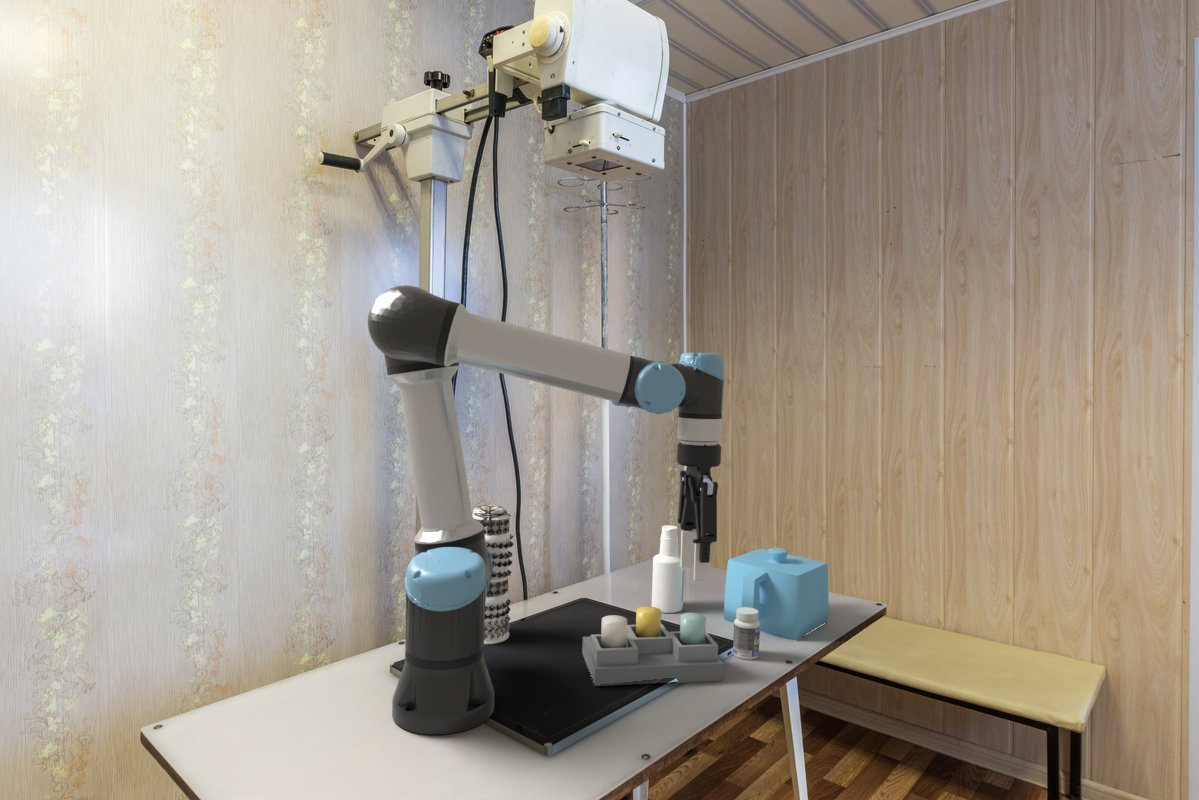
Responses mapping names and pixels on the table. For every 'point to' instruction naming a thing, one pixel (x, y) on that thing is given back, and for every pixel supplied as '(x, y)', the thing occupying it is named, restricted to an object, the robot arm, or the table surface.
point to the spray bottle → (668, 573)
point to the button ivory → (614, 631)
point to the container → (778, 591)
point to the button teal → (692, 628)
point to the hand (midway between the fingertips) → (694, 573)
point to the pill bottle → (746, 633)
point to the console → (652, 659)
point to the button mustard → (648, 621)
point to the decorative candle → (496, 571)
